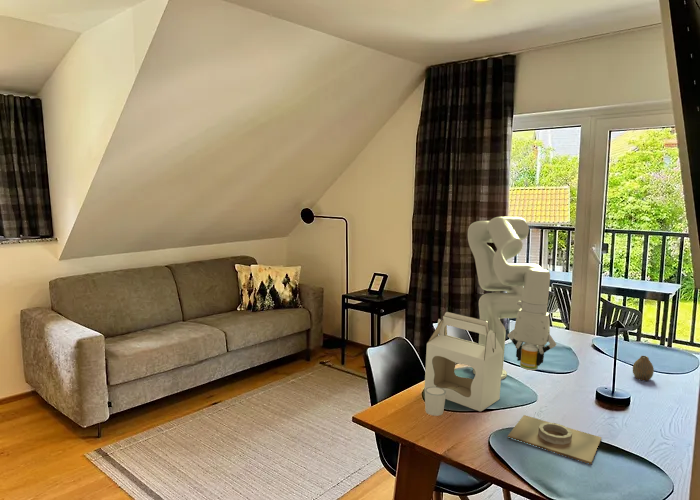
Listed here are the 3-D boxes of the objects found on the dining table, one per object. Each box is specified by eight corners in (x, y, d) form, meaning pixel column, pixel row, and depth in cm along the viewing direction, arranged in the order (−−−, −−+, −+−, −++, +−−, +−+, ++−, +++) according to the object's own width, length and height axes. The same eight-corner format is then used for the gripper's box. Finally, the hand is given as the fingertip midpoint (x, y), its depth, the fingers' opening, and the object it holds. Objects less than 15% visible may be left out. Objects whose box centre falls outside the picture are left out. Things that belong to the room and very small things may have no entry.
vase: (633, 380, 188) (635, 358, 187) (630, 374, 194) (632, 352, 193) (654, 383, 185) (656, 361, 184) (650, 377, 192) (653, 355, 190)
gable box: (423, 391, 173) (427, 313, 169) (443, 380, 183) (448, 306, 179) (481, 412, 158) (487, 327, 154) (500, 399, 168) (506, 319, 164)
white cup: (432, 418, 153) (433, 396, 152) (419, 409, 159) (420, 388, 158) (449, 414, 156) (451, 393, 155) (436, 405, 162) (437, 384, 161)
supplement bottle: (538, 371, 156) (541, 342, 155) (521, 369, 157) (523, 340, 156) (536, 365, 162) (538, 336, 160) (518, 363, 163) (521, 335, 161)
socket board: (507, 438, 143) (508, 429, 142) (523, 417, 156) (524, 408, 155) (591, 465, 130) (592, 455, 130) (601, 439, 143) (602, 430, 143)
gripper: (503, 304, 158) (499, 359, 161) (560, 315, 148) (554, 372, 151) (510, 300, 164) (506, 352, 167) (565, 309, 154) (560, 365, 157)
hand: (529, 361), depth 159 cm, fingers closed on supplement bottle, 5 cm apart
